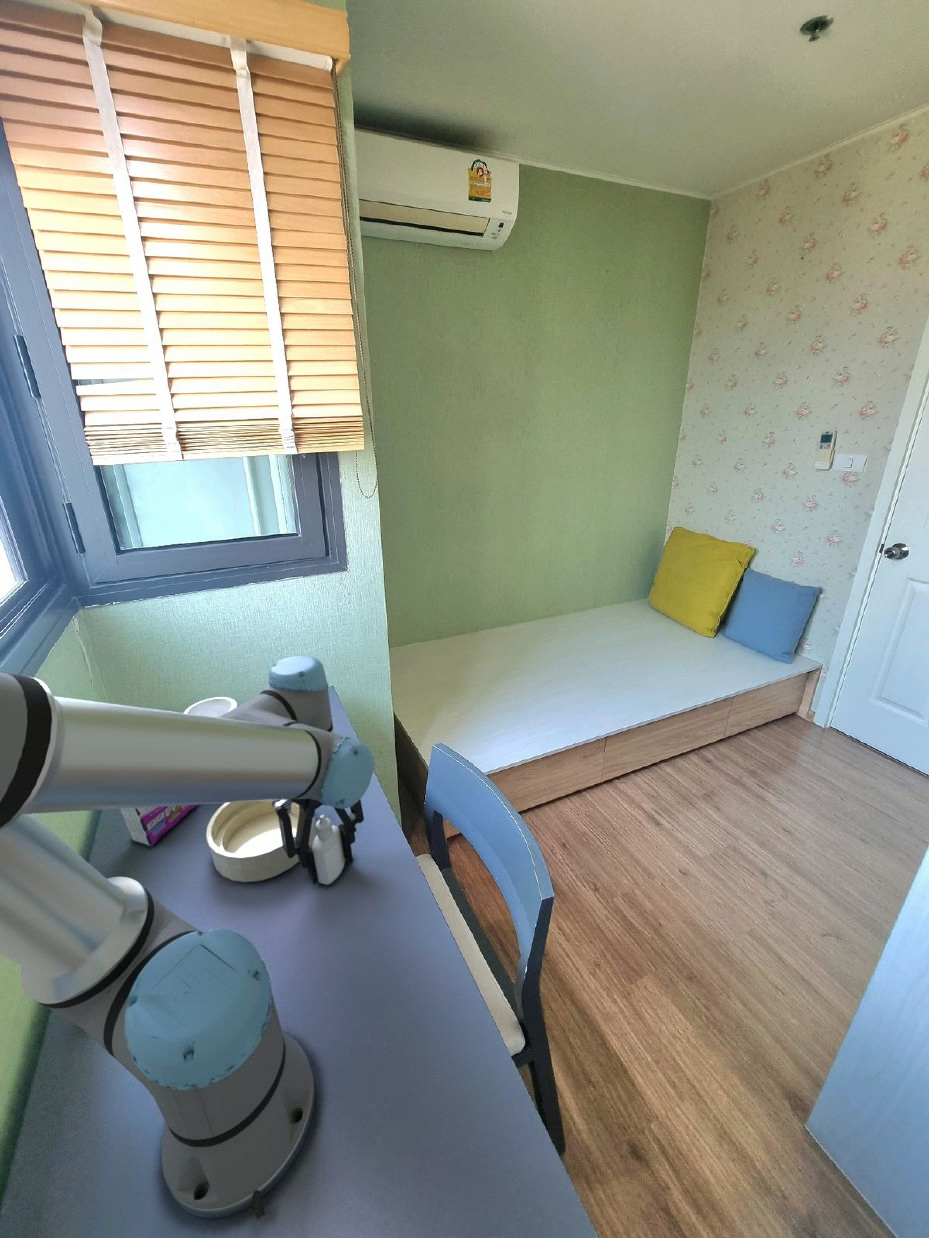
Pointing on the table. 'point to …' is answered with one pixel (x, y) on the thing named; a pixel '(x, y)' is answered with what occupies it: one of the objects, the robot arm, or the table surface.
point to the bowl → (251, 840)
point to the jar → (212, 707)
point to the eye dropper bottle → (328, 851)
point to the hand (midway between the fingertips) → (330, 867)
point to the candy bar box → (153, 821)
